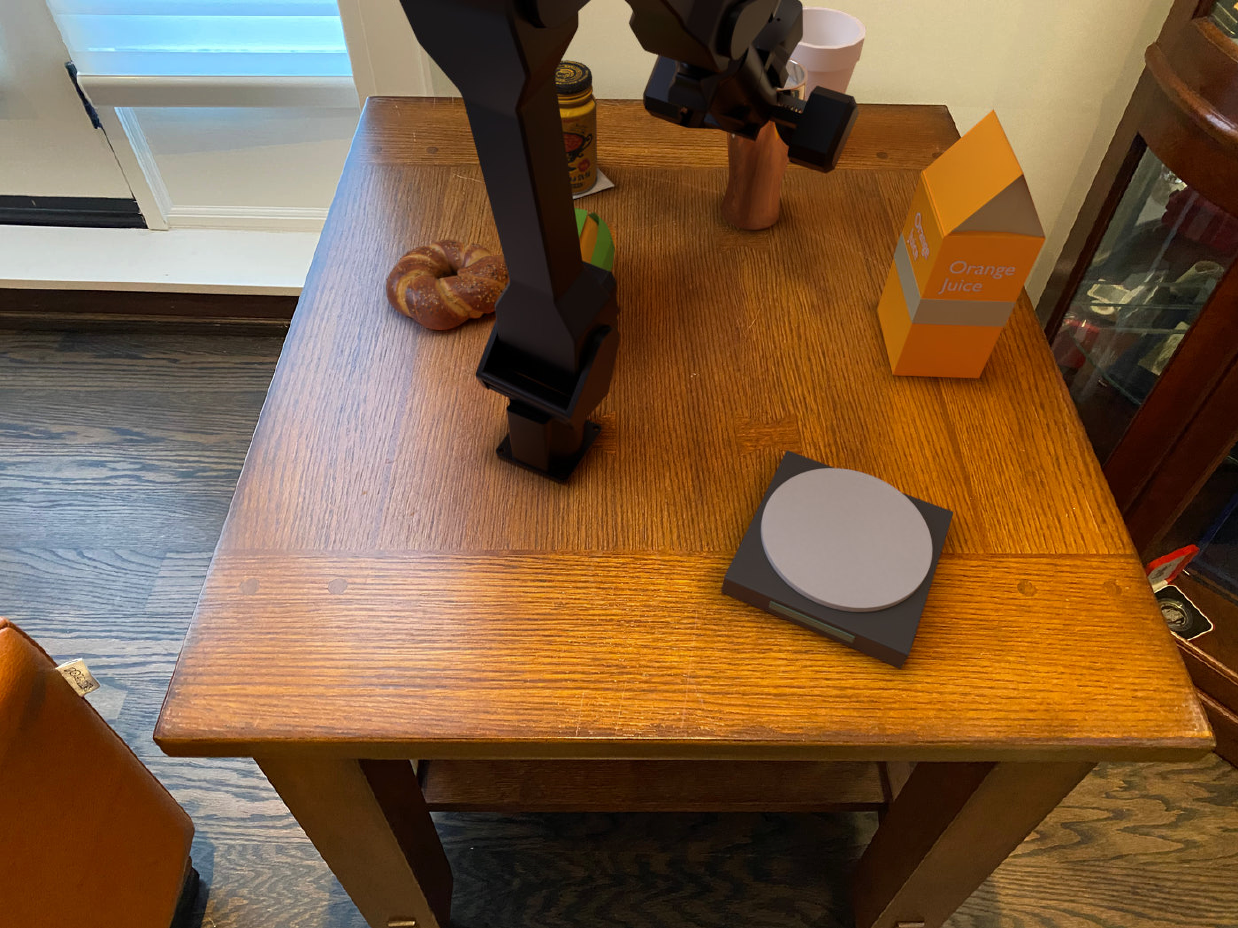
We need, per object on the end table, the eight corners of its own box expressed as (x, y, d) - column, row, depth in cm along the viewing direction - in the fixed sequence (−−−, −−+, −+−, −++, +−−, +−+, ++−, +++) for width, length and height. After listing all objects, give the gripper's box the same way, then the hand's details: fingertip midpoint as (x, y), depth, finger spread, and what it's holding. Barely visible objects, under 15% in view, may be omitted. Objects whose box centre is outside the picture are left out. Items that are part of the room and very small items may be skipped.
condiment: (552, 206, 90) (547, 95, 81) (519, 165, 95) (511, 56, 86) (614, 188, 93) (616, 78, 83) (579, 149, 97) (577, 41, 88)
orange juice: (891, 375, 75) (967, 170, 60) (875, 308, 81) (941, 104, 65) (981, 379, 75) (1080, 174, 60) (959, 311, 81) (1045, 108, 65)
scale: (900, 670, 58) (911, 652, 56) (720, 593, 61) (724, 574, 59) (945, 527, 65) (956, 506, 63) (782, 465, 69) (788, 444, 67)
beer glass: (782, 196, 92) (809, 55, 80) (784, 235, 88) (812, 93, 76) (717, 191, 92) (734, 50, 81) (715, 230, 88) (732, 88, 76)
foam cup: (834, 172, 95) (862, 54, 85) (750, 160, 96) (768, 42, 86) (841, 128, 101) (867, 12, 91) (762, 117, 102) (779, 2, 92)
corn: (620, 185, 79) (584, 331, 67) (624, 253, 85) (592, 400, 73) (541, 182, 80) (491, 326, 68) (550, 250, 86) (506, 394, 74)
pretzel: (507, 250, 86) (504, 218, 83) (527, 322, 79) (524, 290, 76) (384, 267, 84) (376, 234, 81) (393, 342, 77) (385, 310, 74)
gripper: (879, 2, 66) (892, 82, 80) (665, -53, 72) (713, 30, 86) (817, 145, 68) (841, 198, 82) (614, 79, 74) (670, 139, 88)
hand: (765, 137), depth 85 cm, fingers open, 9 cm apart
